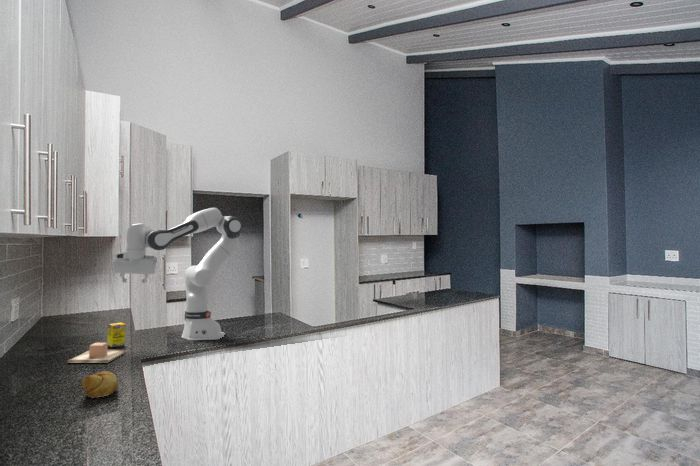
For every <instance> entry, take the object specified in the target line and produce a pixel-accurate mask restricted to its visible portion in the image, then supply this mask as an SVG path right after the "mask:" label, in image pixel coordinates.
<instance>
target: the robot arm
mask: <svg viewBox="0 0 700 466" xmlns="http://www.w3.org/2000/svg"><path fill="white" fill-rule="evenodd" d="M212 228H213V229H214V230H215V231H216V232H217V233H219V234H220V235H221V237H220V239H219V240H218V241H217V242H216V243H215V244H214V245H213V246H212V247H211V248H210V249H208V251H207V252H206V253H205V254H204V257H203V258H202V260H201V261H200V262H199V264H197V265H190V266H189V267H187V269H185V271H184V281H185V282H184V284H185V286H184V287H185V296H186V299H185V301H186V302H185V311H184V318H183V319H184V325H183V329H182V330H183V331H182V334H181V338H182V339H185V340H187V341H212V340H220V338H221V339H222V337H223V338H224V337H225V336H224V335H226V334H225V332H223V331H222V329H221V325H220V323H219V322H217V321H216V320H215V319H213V318H212V317H211V316H212V311H210V310H208V301H209V300H208V298H209V297H208V292H207V286H208V285H210V284H211V283H212V282H213V278H214V277H215V276H216V275H217V273H218V271H219V270H220V268H221V267H222V266H223V265H224V264H225V263H227V261H228V260H229V259H230V258H232V256H233V255H234V254H235V252H236V250H238V247H239V246H240V239H239V238H238V237H239V236H240V234H241V232H242V229H243V223H242V221H241V219H240V218H238V217H237V216H232V215H228V216H227V215H226V216H225V215H224V216H223V215H222V212H221V210H220V209H218V207H209V208H205V209H202V210H198V211H196V212H194V213H192V214H190V215H188V216H187V217H186V218H185V221H184V222H182V223H181V224H178V225H176V226H174V227H172V228H171V227H170V228H169V229H155V228H152V227H150V226H149V225H147V224H146V223H143V222H140V223H133V224H130V225H129V226H128V227H127V229H126V230H127V231H126V237H125V238H126V240H125V242H126V247H125V251H123V252H120V253H115V255H114V260H113V263H112V273H113V274H119V277H120V278H121V279H122V280H121V281H122V283H127V282H128V278H126V277H125V275H126V274H127V275H128V274H130V275H133V274H137V275H138V274H139V275H144V278H143V279H141V283H142V284H147V279H149V277H150V275H155V274H156V273H157V272H158V269H157V263H158V258H157V257H156V256H155V255H146V249H147V248H149V249H153V250H155V251H163V250H165V249H167V248H169V246H170V245H171V244H172V243H173V242H174V241H177V240H179V239H181V238H183V237H187V236H188V235H192V234H194V235H195V234H198V233H202V232H204V231H205V232H206V231H207V230H209V229H212Z"/></svg>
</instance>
